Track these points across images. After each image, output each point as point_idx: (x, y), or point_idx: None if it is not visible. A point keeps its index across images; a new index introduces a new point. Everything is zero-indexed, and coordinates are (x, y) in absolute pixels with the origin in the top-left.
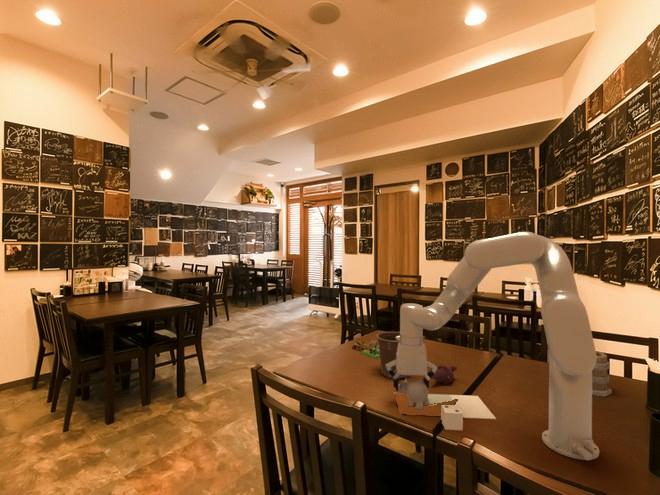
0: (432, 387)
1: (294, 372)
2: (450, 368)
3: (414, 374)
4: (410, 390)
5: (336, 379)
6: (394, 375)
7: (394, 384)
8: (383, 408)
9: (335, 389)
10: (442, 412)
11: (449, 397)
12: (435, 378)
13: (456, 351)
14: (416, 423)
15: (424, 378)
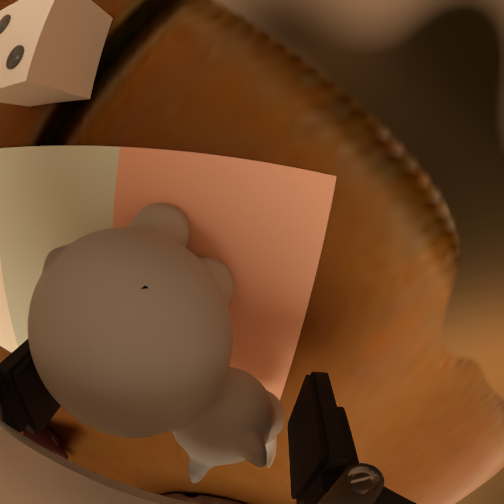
0: (79, 426)
1: (492, 469)
2: None
3: (60, 473)
4: (198, 311)
5: (433, 476)
6: (376, 499)
7: (343, 424)
8: (401, 275)
9: (479, 423)
10: (59, 49)
11: (18, 337)
12: (54, 447)
13: None
14: (248, 61)
15: (28, 416)
